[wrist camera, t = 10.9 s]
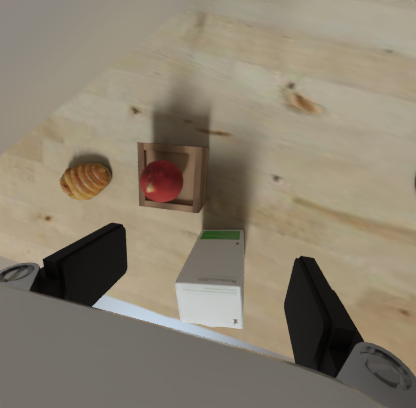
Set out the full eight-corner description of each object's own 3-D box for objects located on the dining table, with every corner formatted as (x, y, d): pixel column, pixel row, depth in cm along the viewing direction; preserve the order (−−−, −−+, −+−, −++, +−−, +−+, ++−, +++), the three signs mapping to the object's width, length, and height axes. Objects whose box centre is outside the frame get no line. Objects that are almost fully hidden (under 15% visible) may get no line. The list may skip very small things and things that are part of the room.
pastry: (103, 153, 37) (88, 154, 33) (120, 186, 38) (107, 190, 35) (67, 171, 39) (50, 174, 36) (84, 201, 41) (69, 206, 37)
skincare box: (243, 228, 36) (244, 284, 21) (244, 260, 38) (246, 331, 23) (200, 229, 38) (172, 281, 23) (202, 259, 39) (179, 325, 24)
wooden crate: (209, 147, 33) (202, 147, 27) (205, 203, 36) (198, 213, 30) (154, 143, 34) (137, 142, 29) (154, 197, 37) (139, 205, 32)
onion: (149, 164, 30) (118, 169, 23) (182, 154, 29) (161, 156, 21) (161, 199, 32) (135, 214, 24) (193, 190, 30) (177, 205, 23)
